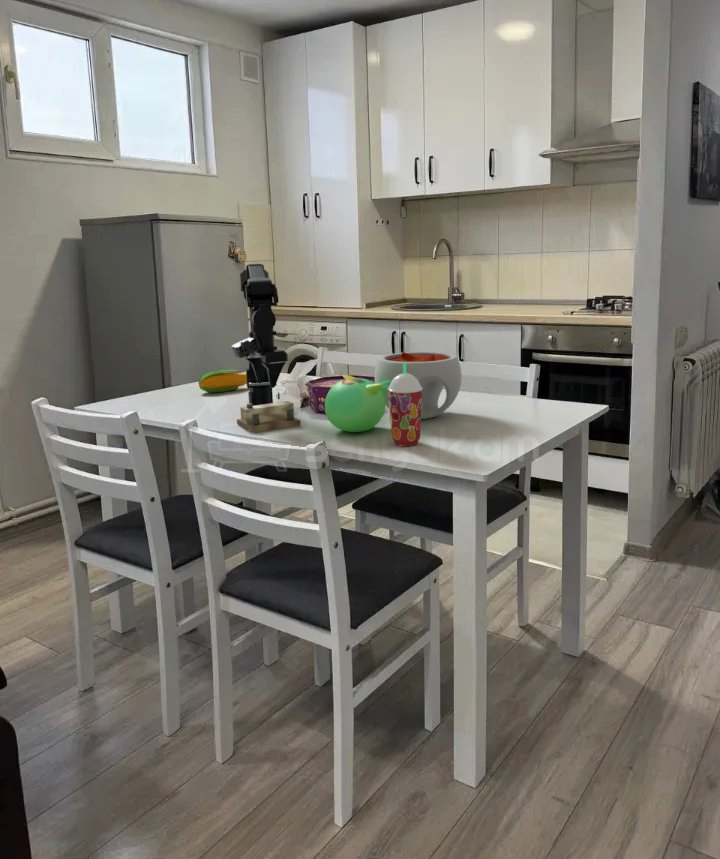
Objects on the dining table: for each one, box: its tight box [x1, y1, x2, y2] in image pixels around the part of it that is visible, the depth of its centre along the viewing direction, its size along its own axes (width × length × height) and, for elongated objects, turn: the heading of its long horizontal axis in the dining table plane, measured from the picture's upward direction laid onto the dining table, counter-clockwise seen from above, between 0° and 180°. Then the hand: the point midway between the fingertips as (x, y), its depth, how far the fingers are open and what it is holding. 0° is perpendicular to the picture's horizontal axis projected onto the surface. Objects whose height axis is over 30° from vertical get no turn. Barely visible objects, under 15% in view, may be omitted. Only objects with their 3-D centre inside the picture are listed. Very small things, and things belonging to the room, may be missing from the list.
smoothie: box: [388, 362, 423, 447], centre depth 183 cm, size 8×8×20 cm
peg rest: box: [236, 408, 302, 433], centre depth 210 cm, size 14×12×4 cm
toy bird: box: [324, 374, 391, 433], centre depth 199 cm, size 18×17×15 cm
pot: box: [374, 351, 463, 420], centre depth 213 cm, size 24×24×18 cm
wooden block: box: [240, 400, 295, 425], centre depth 209 cm, size 14×4×5 cm, turn 118°
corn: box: [198, 369, 247, 394], centre depth 264 cm, size 7×8×20 cm
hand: (266, 385), depth 208 cm, fingers open, 9 cm apart
